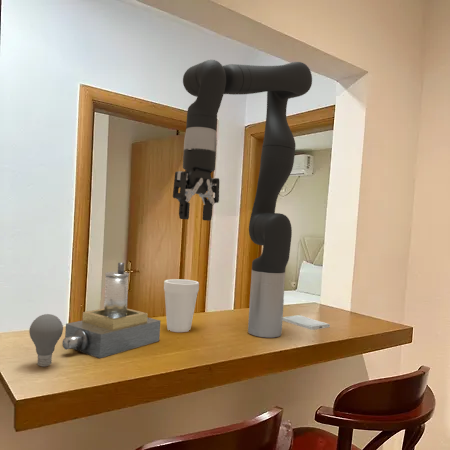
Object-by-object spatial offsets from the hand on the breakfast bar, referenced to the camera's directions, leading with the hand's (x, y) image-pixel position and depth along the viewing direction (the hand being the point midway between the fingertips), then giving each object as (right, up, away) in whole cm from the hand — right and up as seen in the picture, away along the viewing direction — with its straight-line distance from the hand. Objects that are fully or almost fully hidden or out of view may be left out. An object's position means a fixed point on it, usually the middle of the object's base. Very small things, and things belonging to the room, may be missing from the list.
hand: (195, 219), depth 96 cm
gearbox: (-20, -29, 0) cm, 35 cm away
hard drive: (+32, -33, +33) cm, 56 cm away
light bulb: (-28, -29, -16) cm, 43 cm away
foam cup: (-6, -30, +17) cm, 35 cm away
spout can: (-19, -24, +1) cm, 31 cm away
